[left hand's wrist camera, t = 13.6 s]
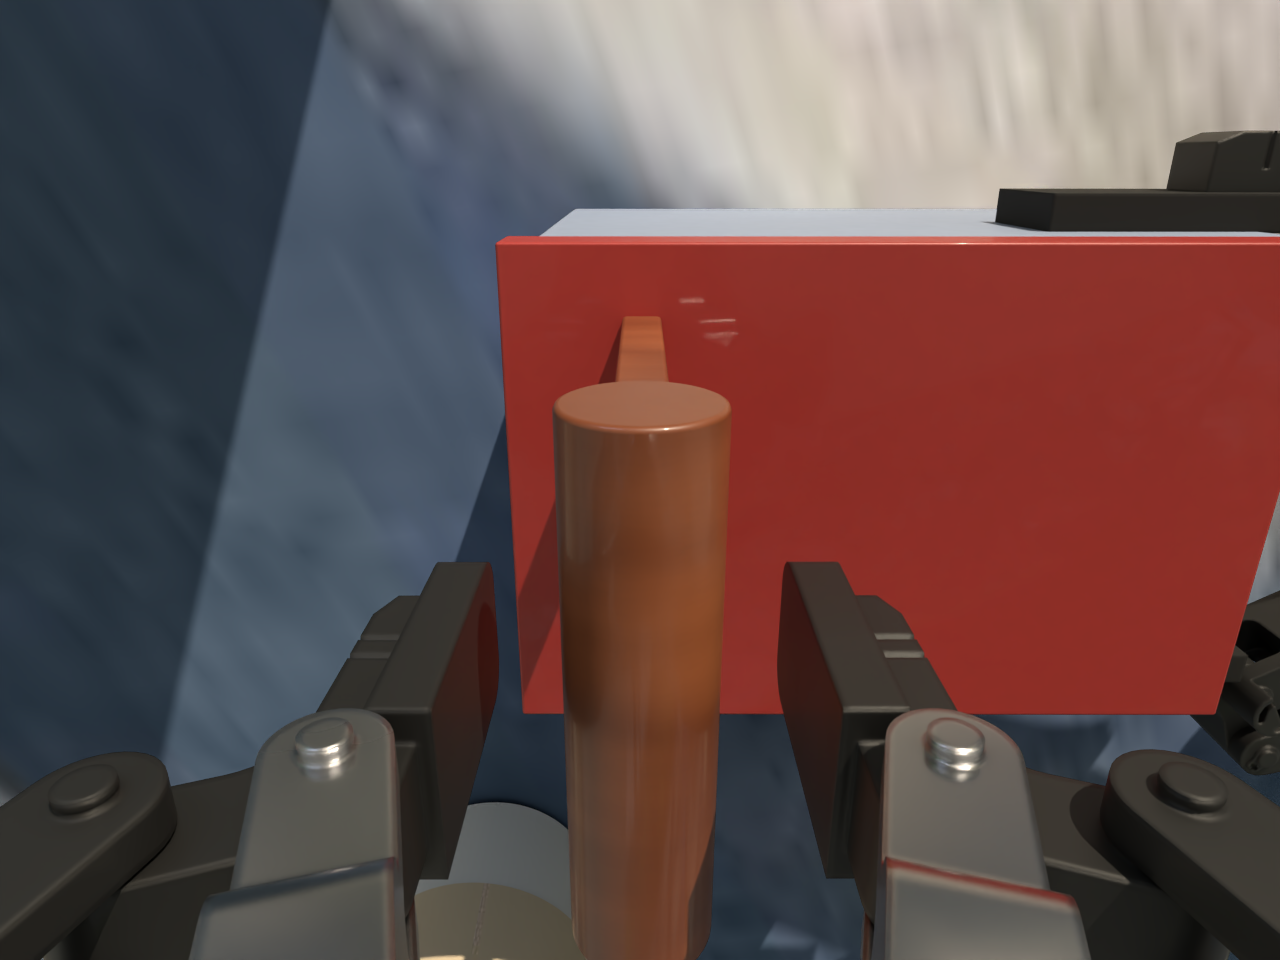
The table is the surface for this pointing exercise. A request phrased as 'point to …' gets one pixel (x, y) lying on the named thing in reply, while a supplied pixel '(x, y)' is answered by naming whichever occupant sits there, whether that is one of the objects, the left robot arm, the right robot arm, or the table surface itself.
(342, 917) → the left robot arm
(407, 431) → the table surface
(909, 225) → the chest
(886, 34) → the table surface
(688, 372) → the lid
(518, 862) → the coffee cup
